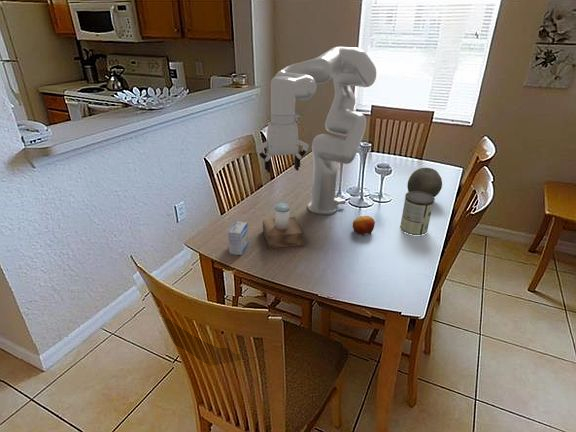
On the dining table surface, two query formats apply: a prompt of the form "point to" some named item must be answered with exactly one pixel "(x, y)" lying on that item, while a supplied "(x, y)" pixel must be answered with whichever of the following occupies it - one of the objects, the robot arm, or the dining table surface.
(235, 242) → the medicine box
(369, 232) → the fruit
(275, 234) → the walnut block
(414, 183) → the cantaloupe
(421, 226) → the coffee can
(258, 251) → the dining table surface
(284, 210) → the pill bottle
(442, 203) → the dining table surface
